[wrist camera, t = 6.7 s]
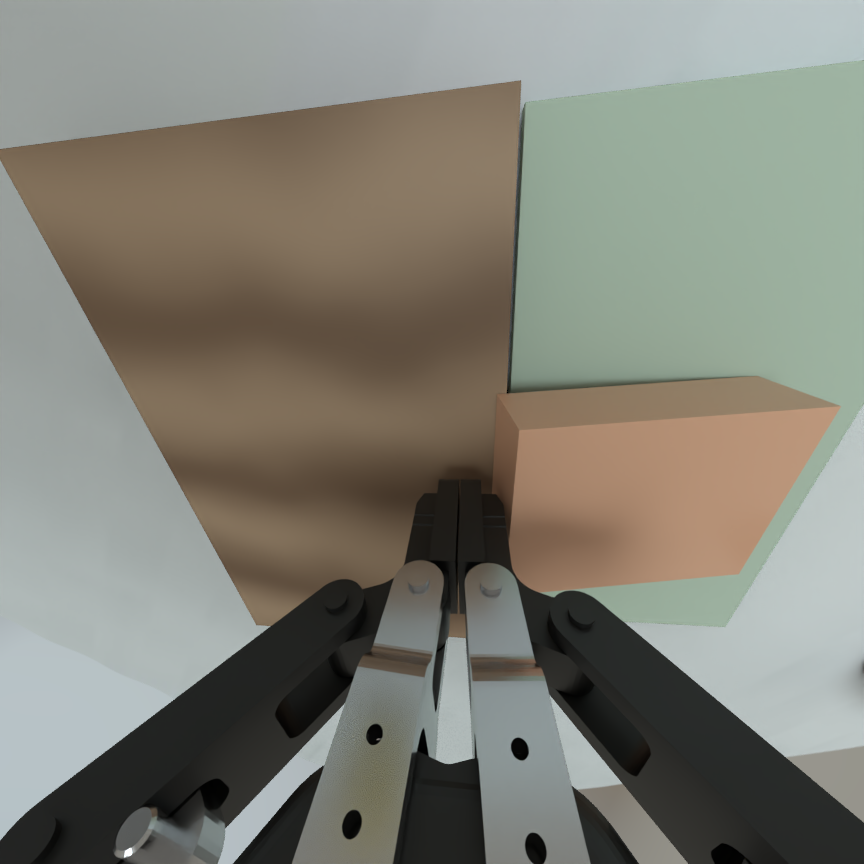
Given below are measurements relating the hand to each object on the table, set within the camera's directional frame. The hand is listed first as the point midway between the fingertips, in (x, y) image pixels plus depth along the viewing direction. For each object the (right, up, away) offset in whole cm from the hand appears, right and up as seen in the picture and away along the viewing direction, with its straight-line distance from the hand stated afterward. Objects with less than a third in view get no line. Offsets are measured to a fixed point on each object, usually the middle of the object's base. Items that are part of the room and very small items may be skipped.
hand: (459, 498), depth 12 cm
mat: (+8, +2, +2) cm, 8 cm away
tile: (+6, +1, +1) cm, 6 cm away
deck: (-5, +2, +3) cm, 6 cm away
